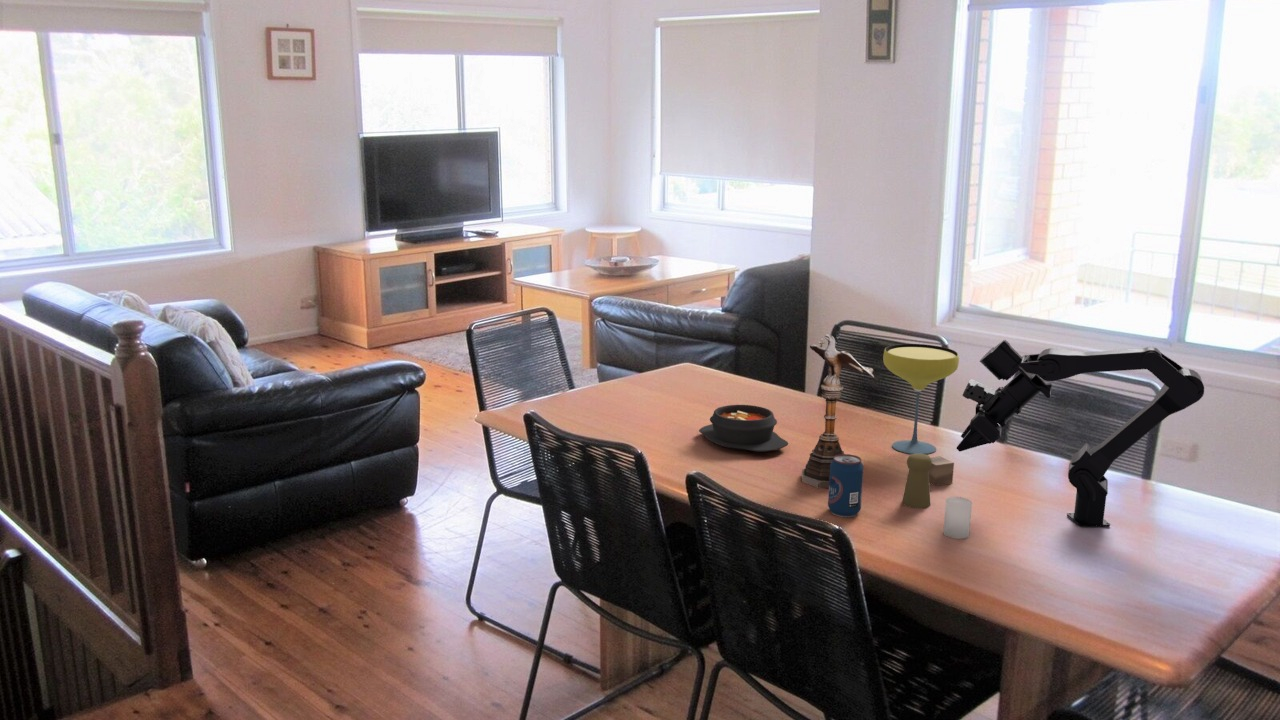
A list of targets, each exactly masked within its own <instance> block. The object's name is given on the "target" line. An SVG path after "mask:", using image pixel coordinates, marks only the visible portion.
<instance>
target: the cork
mask: <svg viewBox="0 0 1280 720" xmlns="http://www.w3.org/2000/svg"><path fill="white" fill-rule="evenodd" d="M906 466H907V468H908V472H907V473H908V474H907V477H906V482H905V485H904V490H903V494H902V500H901V503H902V504H903V505H904V506H906V507H910V508H913V509H926V508H929V507H930V506H931V504H932V503H931V491H930V483H929V470H930V468H931V466H932V460H931V458H930V456H929V455H928V454H920V453H915V454H909V456H908V457H907V459H906Z"/></svg>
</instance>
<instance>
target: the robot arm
mask: <svg viewBox="0 0 1280 720" xmlns="http://www.w3.org/2000/svg"><path fill="white" fill-rule="evenodd" d="M979 362H980V363H981V364H982V366H984V367H985V368H986V369H987V370H988V371H989V372H990V373H991V374H992V375H993V376H994V377H995V378H997V380H998V381H1000V380H1002V381H1008V380H1010V379H1011V378H1012V379H1011V380H1010V381H1009V382H1007V384H1005V385H1004V386H998V388H997V389H994V388H991V387H990V386H988V385H986V384H984V383H982V382H979V381H977V380H975V379H972V378H970V379H969V381H968V383H967V385H966V387H965V389H964V391H963V393H962V397H964V398H965V399H967V400H971V401H974V402H976V403H977V404H976V405H975V415H974V416H973V417H972V418H971V419H970V422H969V424H968V425H967V427H966V428H965V429H964V430H963V432H962V433H961V435H960V437H961V438H962V439H961V441H960V442H959V443H958V445H957V446H956V450H957V451H958V452H963V451H966V450H970V449H974V448H976V447H980V446H984V445H988V444H989V445H990V444H994V443H996V442H997V441H998V440H999V439H1000V438H1001V437H1002V436H1001V435H1002V428H1004V427H1005V426H1006V425H1007V422H1008V421H1010V419H1012V418H1013V417H1014V416H1015V415H1019V414H1020V413H1021V412H1022V409H1023V408H1024V407H1025V406H1026V405H1028V404H1029V403H1030V402H1031V401H1033V400H1034V399H1035V398H1036V397H1038V395H1040V394H1043V395H1044V396H1045V397H1046V398H1048V399H1050V398H1051V396H1052V386H1053V383H1052V382H1055V381H1059V380H1063V379H1064V380H1065V379H1068V378H1072V377H1076V376H1077V375H1080V374H1082V375H1083V374H1086V373H1087V374H1089V373H1104V372H1105V373H1106V372H1118V371H1119V372H1121V371H1137V370H1147V371H1148V372H1150V373H1151V374H1152V375H1153V376H1154V377H1155V378H1156V379H1158V380H1159V381H1160V382H1161V383H1162V384H1163V385H1162V387H1161V388H1160V390H1159V391H1158V392H1157V394H1156V395H1155V396H1154V398H1153V399H1152V400H1151V401H1150V402H1149V403H1147V404H1146V405H1145V406H1144V407H1142V408H1141V409H1140V410H1139V411H1138V412H1137V413H1136V414H1134V415H1133V416H1131V418H1130V419H1129V420H1127V421H1126V422H1125V423H1124V424H1122V425H1121V426H1120V427H1119V428H1118V429H1116V430H1115V431H1114V432H1113V433H1112V434H1110V436H1108V437H1107V438H1106V439H1104V441H1101V443H1100V444H1097V445H1094V446H1092V447H1091V446H1090V445H1089V443H1085V444H1084V445H1083V446H1082V447H1081V448H1080V449H1079V450H1078V451H1077V452H1075V453H1072V454H1071V460H1070V461H1069V465H1068V471H1067V475H1068V476H1067V478H1068V481H1069V483H1070V484H1071V485H1072V487H1074V488H1076V494H1075V502H1074V512H1067V513H1066V516H1067V517H1068V518H1069V519H1070V520H1072V521H1073V522H1074V523H1075V525H1077V526H1079V527H1083V528H1084V527H1085V528H1087V527H1089V528H1090V527H1093V528H1094V527H1101V528H1103V527H1106V528H1107V527H1111V523H1109V522H1108V521H1107V520H1106V519H1105V511H1106V510H1105V508H1106V504H1107V503H1106V501H1107V496H1108V494H1109V493H1108V492H1109V491H1108V490H1109V487H1108V484H1109V483H1108V481H1109V480H1108V479H1107V477H1105V474H1106V473H1107V471H1108V470H1109V469H1110V468H1111V467H1110V466H1112V464H1113V463H1114V462H1115V460H1117V459H1118V458H1119V457H1120V456H1122V454H1124V453H1125V452H1126V451H1128V450H1129V449H1130V448H1131V447H1133V446H1134V445H1135V444H1136V443H1137V442H1138V441H1140V440H1141V439H1142V438H1143V437H1145V436H1146V435H1147V434H1148V433H1150V431H1152V430H1153V429H1154V428H1155V427H1157V426H1158V425H1159V424H1160V423H1162V422H1163V421H1164V420H1165V419H1166V418H1167V417H1169V416H1171V415H1173V414H1176V413H1178V412H1181V411H1183V410H1185V409H1187V408H1188V407H1190V406H1192V405H1194V404H1195V403H1197V402H1199V401H1200V400H1201V399H1202V398H1203V396H1204V395H1205V385H1204V383H1203V380H1202V378H1201V375H1200V374H1199V373H1198V372H1197V371H1195V370H1194V369H1191V368H1184V367H1182V366H1181V365H1180V364H1179V363H1178V362H1176V361H1175V360H1173V359H1171V358H1169V357H1168V356H1167V355H1165V354H1163V352H1161V351H1160V350H1159V349H1158V348H1157V347H1154V346H1147V347H1141V348H1129V349H1115V350H1114V349H1113V350H1100V351H1097V350H1095V351H1076V350H1072V349H1068V348H1067V349H1065V348H1055V347H1052V348H1051V347H1050V348H1046V349H1043V350H1042V351H1041V352H1040V353H1035V354H1026V355H1025V354H1024V355H1021V354H1019V352H1017V351H1016V350H1015V348H1013V347H1012V346H1011V344H1010V342H1009V341H1007V340H1006V339H1003V340H1002V341H1001V342H999V343H997V344H996V345H995V346H994V347H992V348H990V350H988V351H987V352H986V353H985V354H984V355H983V356H982V357H981V359H980V360H979ZM1018 371H1019V373H1018V374H1017V375H1016V376H1015V377H1013V376H1014V375H1015V374H1016V373H1017V372H1018Z"/></svg>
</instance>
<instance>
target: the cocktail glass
mask: <svg viewBox="0 0 1280 720" xmlns="http://www.w3.org/2000/svg"><path fill="white" fill-rule="evenodd" d="M959 357H960V356H959V353H958V352H957V351H956V350H953V349H951V348H948V347H944V346H939V345H933V344H924V343H923V344H922V343H921V344H920V343H902V344H901V343H899V344H894V345H893V344H892V345H889V346H887V347H885V348H884V350H883V357H882V358H883V365H884V366H885V367H886V368H887V370H888V371H889V372H890V373H892V374H894V375H895V376H897V377H899V378H901V379H902V380H904V381H906V382H907V383H908V384H910V386H911V387H912V389H913V390H914V392H915V391H916V402H915V413H914V414H915V415H914V424H913V432H912V436H911V439H909V440H908V439H907V440H899V441H895V442H892V444H891V447H892V448H893V449H894V450H895V451H897V452H899V453H903V454H907V455H911V454H915V453H920V454H925V455H931V454H934V453H935V452H936V450H937V448H936V446H935V445H933V444H931V443H928V442H926V441H920V440H918V417H919V416H918V415H919V402H920V392H922V391H924V389H926V388H927V386H928V385H930V384H933V383H935V382H937V381H939V380H940V381H941V380H942V379H945V378H947V377H949V376H951V375H952V374H953V373H955V372H956V371H957V370H958V367H959V363H960V358H959Z"/></svg>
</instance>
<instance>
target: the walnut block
mask: <svg viewBox="0 0 1280 720" xmlns="http://www.w3.org/2000/svg"><path fill="white" fill-rule="evenodd" d="M929 457H930V456H929ZM930 458H931V460H932V466H931V468H930V470H929V485H932V486H943V485H948V484H953V480H954V479H953V478H954V468H955V462H954V461H951V460H949V459H948V458H945V457H943V456H941V455H938V456H931V457H930Z"/></svg>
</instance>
